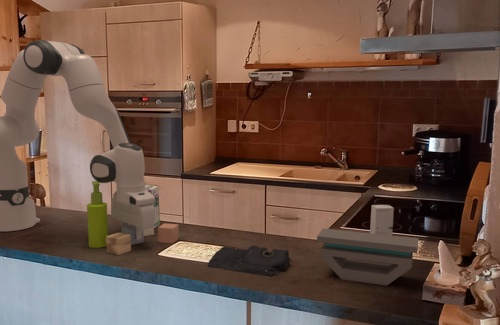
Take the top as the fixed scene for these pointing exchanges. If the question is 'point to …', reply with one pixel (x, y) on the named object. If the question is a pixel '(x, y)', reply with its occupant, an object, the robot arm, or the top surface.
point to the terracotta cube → (168, 233)
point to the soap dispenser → (97, 219)
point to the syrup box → (155, 192)
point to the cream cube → (148, 232)
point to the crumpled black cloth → (251, 260)
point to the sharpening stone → (367, 255)
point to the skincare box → (381, 219)
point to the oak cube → (118, 243)
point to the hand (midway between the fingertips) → (132, 236)
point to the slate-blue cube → (131, 233)
